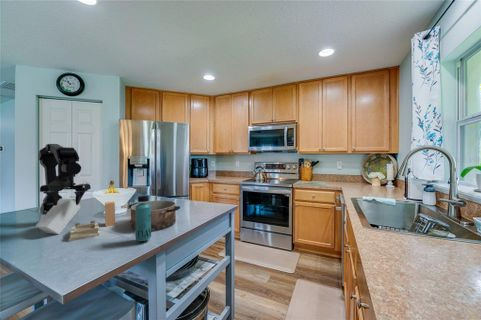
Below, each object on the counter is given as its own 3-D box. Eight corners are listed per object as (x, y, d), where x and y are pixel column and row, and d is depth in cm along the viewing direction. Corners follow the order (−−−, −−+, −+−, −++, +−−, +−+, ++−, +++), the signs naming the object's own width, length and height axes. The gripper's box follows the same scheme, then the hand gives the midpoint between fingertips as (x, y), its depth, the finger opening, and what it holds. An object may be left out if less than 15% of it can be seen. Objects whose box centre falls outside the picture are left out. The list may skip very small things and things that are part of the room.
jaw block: (105, 224, 109) (104, 202, 108) (114, 222, 111) (114, 201, 111) (105, 226, 105) (105, 204, 105) (115, 225, 108) (114, 202, 107)
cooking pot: (115, 228, 103) (114, 207, 103) (147, 215, 124) (147, 198, 124) (163, 235, 94) (163, 213, 94) (189, 220, 115) (189, 202, 115)
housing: (71, 231, 99) (71, 223, 99) (98, 226, 105) (98, 219, 105) (68, 241, 87) (68, 232, 87) (99, 235, 94) (99, 227, 94)
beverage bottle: (135, 246, 83) (134, 198, 83) (135, 239, 89) (134, 195, 89) (152, 242, 86) (151, 196, 86) (151, 237, 92) (150, 194, 92)
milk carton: (46, 227, 90) (76, 192, 103) (34, 226, 91) (65, 192, 104) (58, 234, 95) (86, 200, 108) (47, 233, 96) (75, 199, 109)
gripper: (28, 175, 87) (29, 210, 88) (76, 175, 90) (77, 209, 91) (48, 172, 98) (49, 204, 99) (91, 172, 101) (91, 203, 102)
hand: (66, 205), depth 97 cm, fingers open, 9 cm apart
